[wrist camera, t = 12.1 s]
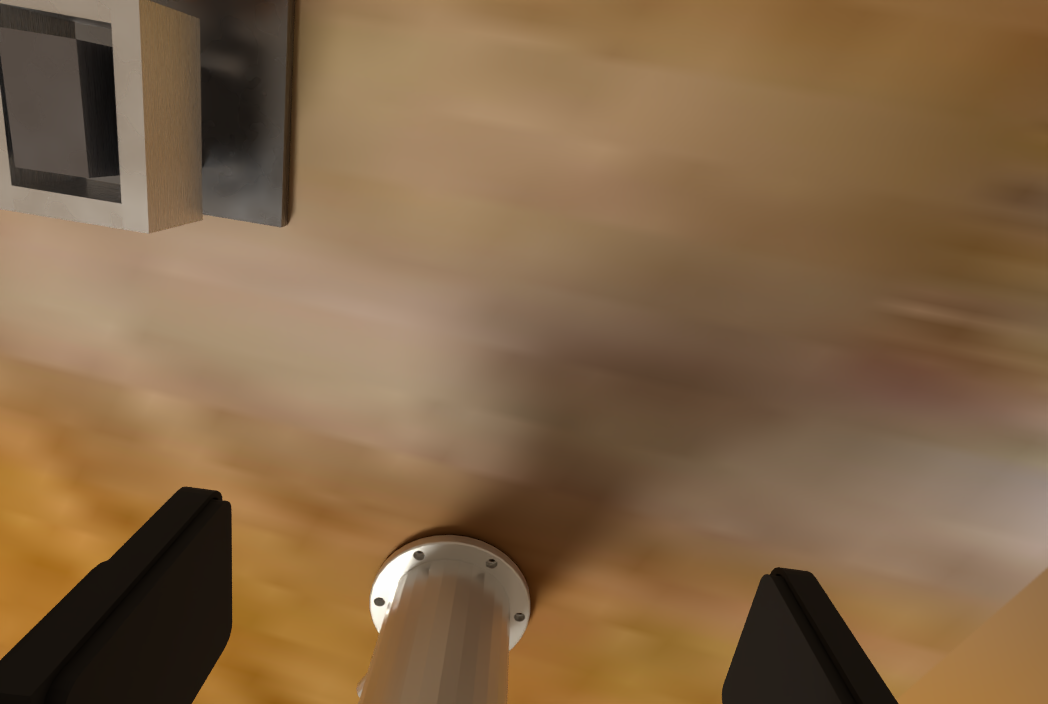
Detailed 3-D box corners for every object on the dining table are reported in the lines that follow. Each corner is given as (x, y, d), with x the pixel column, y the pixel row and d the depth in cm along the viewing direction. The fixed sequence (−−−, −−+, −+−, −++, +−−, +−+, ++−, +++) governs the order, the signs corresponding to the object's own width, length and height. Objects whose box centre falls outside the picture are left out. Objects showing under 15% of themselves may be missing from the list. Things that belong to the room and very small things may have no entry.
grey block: (203, 167, 36) (89, 178, 27) (149, 159, 36) (15, 167, 27) (200, 66, 34) (76, 39, 25) (143, 57, 34) (-4, 26, 25)
